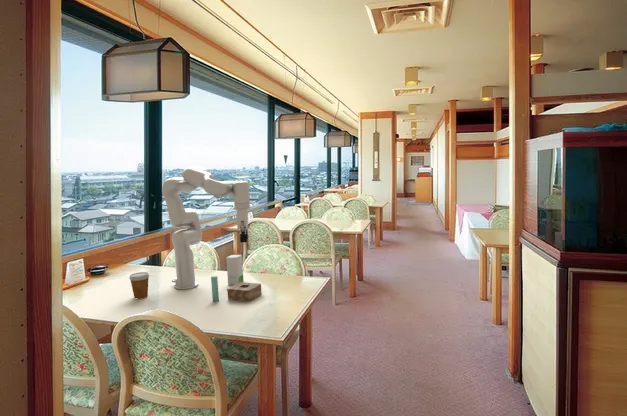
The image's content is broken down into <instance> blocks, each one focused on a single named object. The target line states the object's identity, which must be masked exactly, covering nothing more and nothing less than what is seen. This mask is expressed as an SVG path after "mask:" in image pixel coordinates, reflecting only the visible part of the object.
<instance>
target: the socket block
mask: <svg viewBox="0 0 627 416" xmlns="http://www.w3.org/2000/svg"><path fill="white" fill-rule="evenodd" d="M262 293H263V292H262V283H259V282H258V283H257V282H246V281H245V282H240V283H238V284H236V285H231V286H230V287H229V288H227V300H228V301H237V302H238V301H239V302H248V303H250V302H252V301H253V300H255V299H257V298H259V296H261V295H262Z"/></svg>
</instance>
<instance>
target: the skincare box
mask: <svg viewBox="0 0 627 416" xmlns="http://www.w3.org/2000/svg"><path fill="white" fill-rule="evenodd" d="M225 259H226V260H225V261H226V272H227V273H226V274H227V285H228V286H234V285H236V284H238V283H240V282H244V268H243V256H242V254H231V255H229V256H227V257H225Z"/></svg>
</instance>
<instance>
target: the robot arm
mask: <svg viewBox="0 0 627 416" xmlns="http://www.w3.org/2000/svg"><path fill="white" fill-rule="evenodd" d="M181 173H182V174H181V176H177V177H170V178H167V179H166V180H165V181H164V182H163V183H162V185H161V186H162V188H161V193H162V197H163V199H164V201H165V204H166V208H167V212H168V213H167V214H168V217H169V222H170V224H171V226H172V227H174V228H176V229H177V228H182V229H180V230H176V231H175V232H174V233H172V236H171V242H172V247H173V251H174V259H175V274H176V277H173V279H172V280H171V282H172V283H175V284H174V289H175V290H180V291H181V290H189V289H194V288H197V287H198V286H199V282H197V281H196V274H195V258H194V252H193V250H192V249H191V246H193V245H197V244H199V243H201V241H202V239H203V231H202V227H201V222H200V218H199V215H198V213H197V212H196V210H194V209H193V208H185V207H184V202H183V200H182V198H181V197H180V195H178V194H181V193H190V192H193V191H195V190H196V189H198V188H202V189H203V191H204V192H206V194H209V195H211V196H213V197H218V198H225V197H233V202H234V203H233V204H234V205H233V206H234V211H236V228H237V231H239V233H240V234H239V242H240V243H247V242H248V239H249V234H248V233H249V232H248V228H249V211H248V210H251V202H250V200H251V199H250V188H249V187H250V186H249V185H250V184H249V182H248V181H246V180H239V181H236V180H227V181H219V180H214V175H213V174H212V173H210V172H209V171H208V169H206V168H205V167H202V166H190V167H186V168H185V169H184V170H183V171H182V172H181ZM183 227H186V228H184V229H183Z"/></svg>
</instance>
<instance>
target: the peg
mask: <svg viewBox="0 0 627 416" xmlns="http://www.w3.org/2000/svg"><path fill="white" fill-rule="evenodd" d="M218 280H219V279H218V276H217V275H212V276H211V277H210V281H211V282H210V283H211V284H210V285H211V295H212V296H211V297H212V303H213V302H214V303H216V302H217V303H218V302H219V301H220V297H219V295H220V292H219V281H218Z"/></svg>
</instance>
